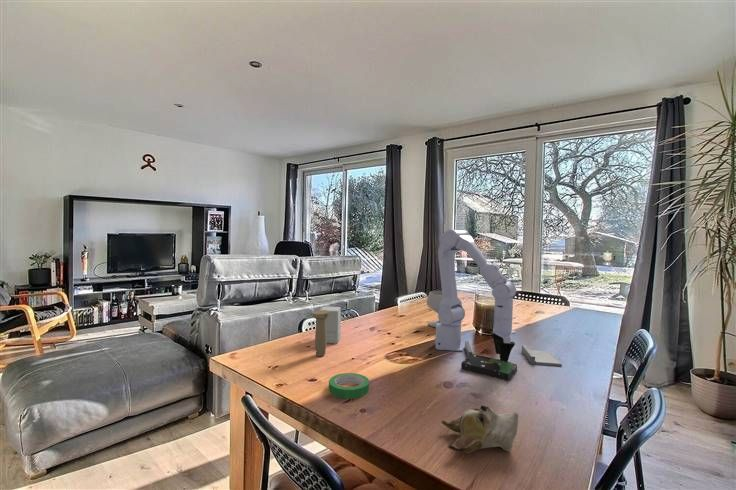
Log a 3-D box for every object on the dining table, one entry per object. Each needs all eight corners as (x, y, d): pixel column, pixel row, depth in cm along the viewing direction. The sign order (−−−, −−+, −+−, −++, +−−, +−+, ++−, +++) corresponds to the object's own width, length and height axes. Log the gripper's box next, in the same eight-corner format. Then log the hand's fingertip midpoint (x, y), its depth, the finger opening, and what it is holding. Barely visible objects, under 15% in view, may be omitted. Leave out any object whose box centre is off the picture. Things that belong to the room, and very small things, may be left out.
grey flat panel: (468, 359, 123) (468, 351, 122) (464, 347, 134) (465, 340, 134) (561, 366, 118) (561, 358, 118) (549, 353, 130) (549, 346, 130)
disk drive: (460, 371, 114) (509, 383, 105) (460, 362, 114) (509, 373, 105) (471, 361, 122) (517, 371, 114) (471, 353, 122) (517, 362, 114)
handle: (332, 354, 124) (332, 311, 124) (318, 359, 120) (318, 315, 119) (322, 351, 128) (323, 309, 127) (308, 355, 123) (309, 312, 122)
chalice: (420, 326, 162) (421, 293, 162) (433, 319, 174) (434, 289, 173) (450, 331, 154) (451, 297, 154) (461, 324, 166) (462, 292, 165)
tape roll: (347, 377, 106) (347, 369, 106) (377, 389, 99) (377, 379, 99) (320, 390, 98) (320, 381, 98) (350, 404, 91) (350, 393, 91)
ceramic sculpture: (527, 419, 68) (447, 419, 69) (528, 463, 68) (449, 463, 69) (509, 393, 79) (440, 394, 80) (510, 432, 79) (441, 432, 80)
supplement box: (341, 338, 143) (341, 306, 142) (337, 344, 135) (338, 311, 135) (322, 337, 144) (323, 305, 143) (318, 343, 136) (318, 310, 136)
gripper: (521, 324, 112) (519, 366, 113) (510, 313, 126) (509, 351, 127) (497, 322, 113) (496, 365, 114) (489, 312, 128) (488, 349, 128)
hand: (501, 357), depth 121 cm, fingers open, 7 cm apart
